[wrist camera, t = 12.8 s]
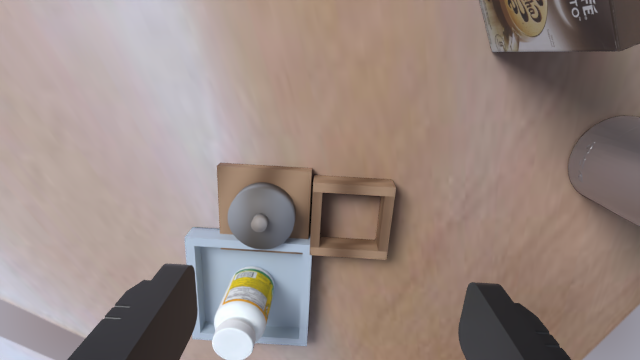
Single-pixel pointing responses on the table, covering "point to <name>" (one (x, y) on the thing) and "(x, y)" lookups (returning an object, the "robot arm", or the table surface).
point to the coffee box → (561, 25)
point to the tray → (285, 269)
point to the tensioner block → (295, 209)
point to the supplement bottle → (243, 313)
